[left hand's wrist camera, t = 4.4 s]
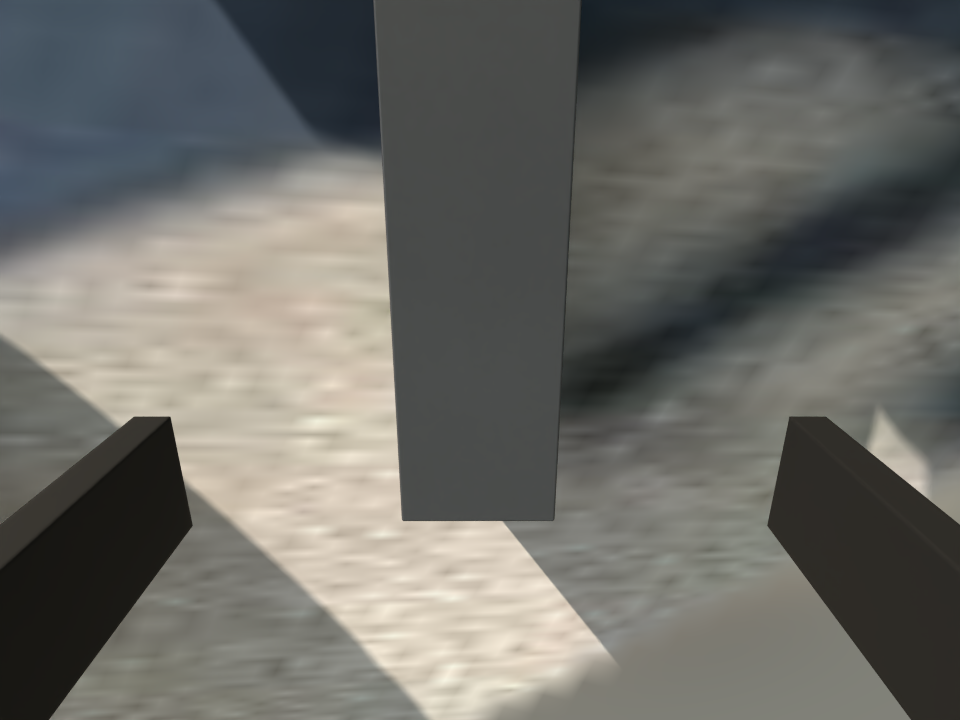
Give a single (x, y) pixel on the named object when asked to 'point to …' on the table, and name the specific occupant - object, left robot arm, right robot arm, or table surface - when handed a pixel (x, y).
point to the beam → (477, 246)
